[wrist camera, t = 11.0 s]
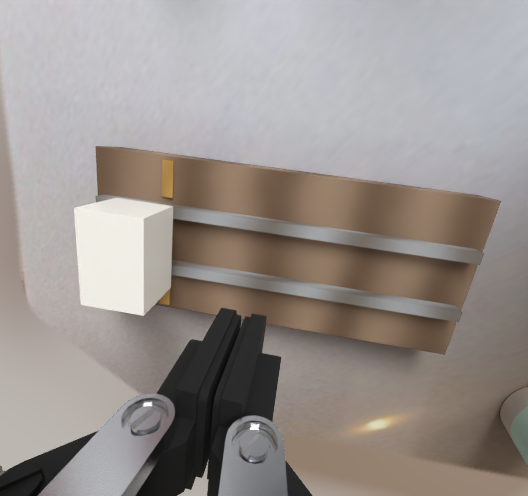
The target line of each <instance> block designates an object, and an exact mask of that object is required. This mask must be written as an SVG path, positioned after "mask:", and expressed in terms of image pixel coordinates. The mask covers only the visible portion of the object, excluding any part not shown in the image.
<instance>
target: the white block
mask: <svg viewBox="0 0 528 496" xmlns="http://www.w3.org/2000/svg"><path fill="white" fill-rule="evenodd" d="M74 215H75V229H76V243H77V257H78V271H79V285H80V299H81V305H85V306H91V307H97V308H102V309H108V310H114V311H119V312H125V313H130V314H136V315H142V316H144V315H145V314H146V313H147V312H148V311H149V310H150V309H151V308H152V307H153V306H154V305H155V304H156V303H157V302H158V301H159V300H160V298H161V297H162V296H163V295H164V294H165V293H166V292H167V291H168V290H169V289H170V288H171V266H172V234H173V206H169V205H162V204H156V203H149V202H142V201H135V200H128V199H122V198H113V199H109V200H104V201H100V202H96V203H92V204H88V205H84V206H80V207H76V208H74Z"/></svg>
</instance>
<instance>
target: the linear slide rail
mask: <svg viewBox="0 0 528 496" xmlns="http://www.w3.org/2000/svg"><path fill="white" fill-rule="evenodd" d="M96 163H97V184H98V196H96V202H100V201H104V200H109V199H113V198H122V199H128V200H135V201H142V202H149V203H156V204H162V205H169V206H173V234H172V266H171V288H170V289H169V290H168V291H167V292H166V293H165V294H164V295H163V296H162V297H161V298H160V300H159V301H158V302H157V303H156V305H162V306H167V307H173V308H179V309H185V310H191V311H196V312H202V313H208V314H214V315H217V314H218V313H219V311H220V309H221V308H227V309H232V310H236V311H237V315H241V319H243V320H244V318H245V316H247V317H251V314H252V313H253V314H259V315H264V316H267V319H266V324H271V325H277V326H283V327H289V328H295V329H300V330H306V331H312V332H318V333H323V334H329V335H335V336H341V337H346V338H352V339H358V340H364V341H370V342H375V343H381V344H387V345H393V346H398V347H404V348H410V349H416V350H422V351H427V352H433V353H439V354H445V353H446V350H447V347H448V344H449V342H450V339H451V336H452V333H453V331H454V328H455V325H456V323H457V322H459V319H460V317H461V314H462V312H461V309H462V306H463V304H464V301H465V298H466V295H467V293H468V290H469V287H470V284H471V282H472V279H473V276H474V274H475V271H476V268H477V265H480V262H481V260H482V257H483V254H484V253H482V252H483V249H484V246H485V244H486V241H487V238H488V235H489V233H490V230H491V227H492V225H493V222H494V219H495V216H496V214H497V211H498V208H499V205H500V203H501V201H499V200H495V199H491V198H486V197H482V196H478V195H472V194H465V193H458V192H450V191H443V190H435V189H428V188H420V187H413V186H406V185H398V184H391V183H383V182H376V181H368V180H361V179H354V178H346V177H339V176H331V175H324V174H316V173H309V172H302V171H294V170H287V169H279V168H272V167H264V166H257V165H250V164H242V163H235V162H227V161H220V160H212V159H205V158H198V157H190V156H183V155H175V154H168V153H160V152H153V151H146V150H138V149H131V148H123V147H104V146H96Z"/></svg>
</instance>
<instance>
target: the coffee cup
mask: <svg viewBox="0 0 528 496" xmlns="http://www.w3.org/2000/svg"><path fill="white" fill-rule="evenodd" d="M500 417H501V421H502V423H503V425H504V426H505V428H506V430H507V431H508V433H509V435H510V437H511V438H512V440H513V442H514V444H515V445H516V447H517V449H518V451H519V452H520V454H521V456H522V458H523V459H524V461H525V463H526V464H527V466H528V387H525V388H522V389H520V390H518V391H516V392H514V393H513V394H511V395H510V396H509V397H508V398H507V399H506V400H505V401H504V403H503V405H502V407H501V411H500Z"/></svg>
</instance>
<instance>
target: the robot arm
mask: <svg viewBox="0 0 528 496" xmlns="http://www.w3.org/2000/svg"><path fill="white" fill-rule="evenodd" d="M266 319H267V316H264V315H259V314H253V313H252V314H251V317H247V316H245V318H244V321H243V324H242V326H241V315H237V311H236V310H232V309H227V308H221V309H220V311H219V313H218V314H217V316H216V318H215V320H214V321H213V323H212V325H211V327H210V329H209V330H208V332H207V334H206V336H205V338H204V339H203V341H198V340H193V339H192V340H190V341H189V343H188V344H187V346H186V348H185V349H184V351H183V352H182V354H181V355H180V357H179V359H178V360H177V362H176V363H175V365H174V367H173V368H172V370H171V371H170V373H169V375H168V376H167V378H166V379H165V381H164V383H163V384H162V386H161V387H160V389H159V391H158V392H157V394H155V393H152V394H143V395H140V396H136V397H135V398H133V399H131V400H129V401H128V402H126V403H125V404H124V405H123V406H122V407H121V408H120V409H119V410H118V411H117V412H116V413H115V414H114V415H113V416H112V417H111V418H110V419H109V420H108V421H107V423H106V424H105V425H104V426H103V427H102V428H101V429H100V430H99V431H97V432H94V433H92V434H90V435H87V436H85V437H82V438H80V439H77V440H75V441H73V442H70V443H68V444H66V445H63V446H60V447H58V448H56V449H53V450H51V451H49V452H46V453H43V454H41V455H39V456H36V457H34V458H31V459H29V460H27V461H24V462H22V463H20V464H18V465H16V466H14V467H12V468H10V469H9V470H7V471H3V470H2V466H0V496H177V495H179V494H181V493H182V492H184V490H185V488H186V489H190V490H191V489H192V486H193V483H194V480H195V477H201V478H202V476H203V474H204V471H205V468H206V465H207V462H208V459H209V462H208V474H207V479H209V482H208V493H207V496H312V494H311V493H310V492H309V491H308V489H307V488H306V487H305V485H304V484H303V483H302V481H301V480H300V479H299V478H298V476H297V475H296V473H295V472H294V471H293V469H292V468H291V467H290V466H289V464H288V463H287V462H286V460H285V449H284V440H283V436H282V434H281V432H280V430H279V429H278V427H277V426H276V425H275V424H274V423H273V422H272V419H273V412H274V405H275V398H276V391H277V384H278V377H279V370H280V363H281V357H279V356H273V355H268V354H263V353H262V348H263V341H264V334H265V327H266ZM240 326H241V329H240Z"/></svg>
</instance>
